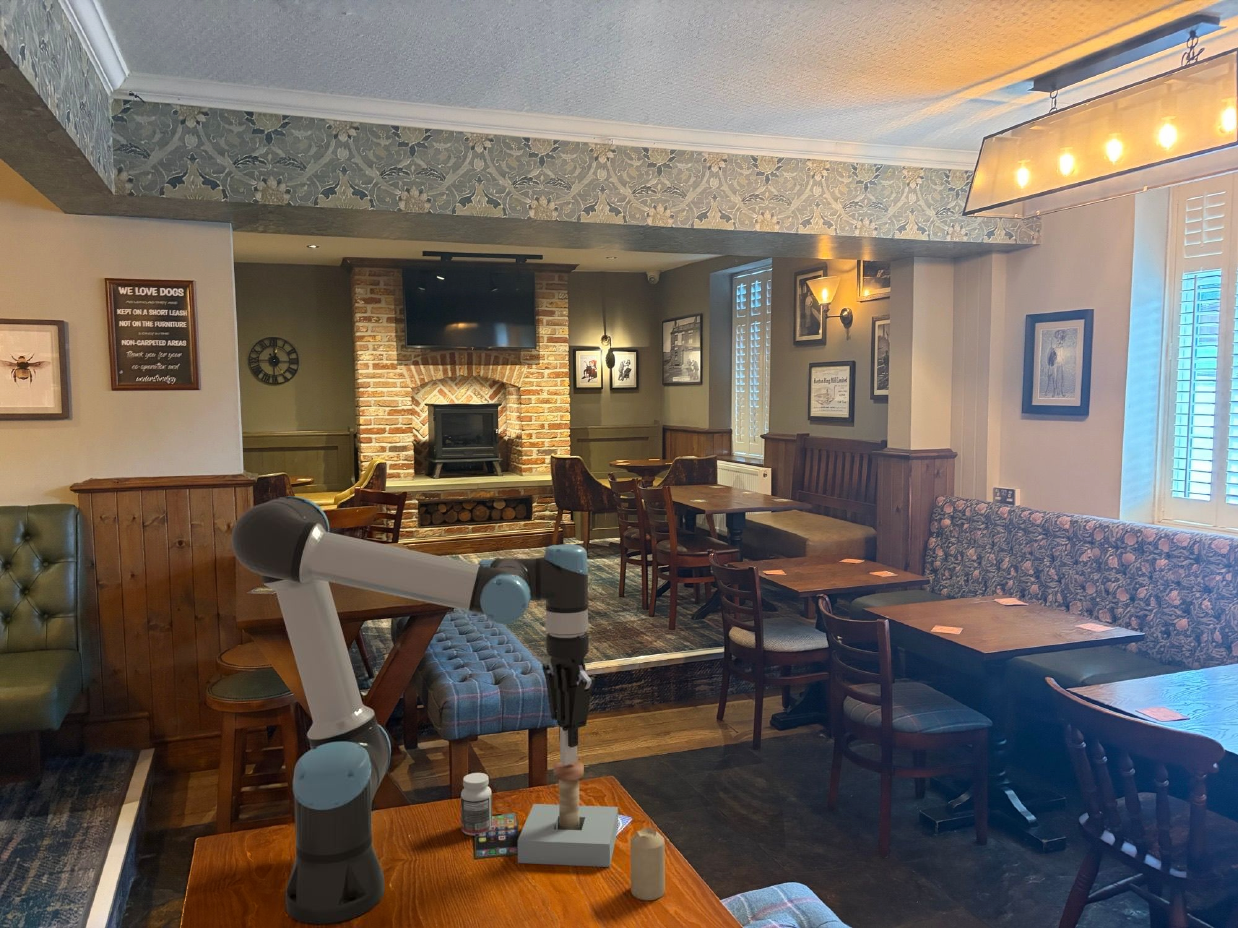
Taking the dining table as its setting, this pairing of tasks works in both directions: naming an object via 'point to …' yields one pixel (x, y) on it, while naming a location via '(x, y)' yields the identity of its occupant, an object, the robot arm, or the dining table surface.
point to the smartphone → (498, 837)
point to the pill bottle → (476, 804)
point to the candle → (647, 864)
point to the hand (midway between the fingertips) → (568, 761)
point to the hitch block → (568, 837)
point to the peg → (569, 794)
